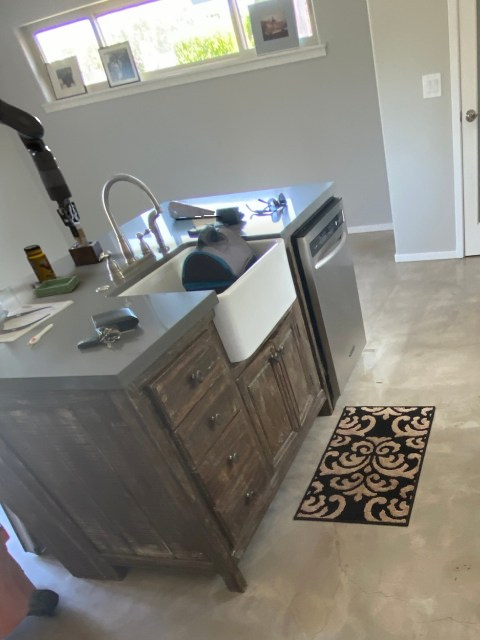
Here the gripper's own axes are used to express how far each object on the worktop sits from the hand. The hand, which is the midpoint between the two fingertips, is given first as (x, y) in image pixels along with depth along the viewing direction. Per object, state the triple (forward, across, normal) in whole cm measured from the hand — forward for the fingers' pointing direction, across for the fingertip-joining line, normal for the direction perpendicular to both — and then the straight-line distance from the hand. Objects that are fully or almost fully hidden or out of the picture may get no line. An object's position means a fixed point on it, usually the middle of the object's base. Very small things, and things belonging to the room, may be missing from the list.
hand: (78, 235), depth 198 cm
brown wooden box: (+9, 0, 0) cm, 9 cm away
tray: (+9, +34, -2) cm, 35 cm away
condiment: (+10, +22, -10) cm, 26 cm away
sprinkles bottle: (+10, 0, 0) cm, 10 cm away
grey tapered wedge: (+10, -51, +38) cm, 64 cm away
